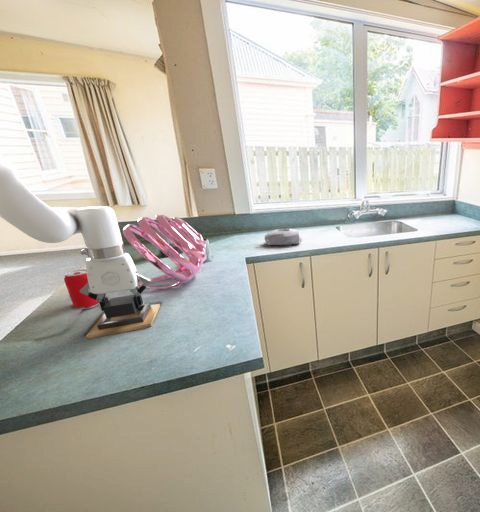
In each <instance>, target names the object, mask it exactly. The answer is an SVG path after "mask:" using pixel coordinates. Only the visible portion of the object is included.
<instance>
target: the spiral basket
mask: <svg viewBox="0 0 480 512" xmlns="http://www.w3.org/2000/svg"><path fill="white" fill-rule="evenodd" d="M155 219H156V220H154V219H153V218H151V217H149V216H141V217H140V218H138V219H137V224H138V225H136V224H133V223H129V224H127V225H125V226H124V227H123V229H122V234H123V236H124V237H125V239H126V240H127V242H128V243H129V244H130V245H131V246H132V248H134V250H136V252H138V253H139V254H140V255H141V256H142V257H143V258H144V259H145V260H146V261H147V262H149V263H150V264H151V265H153V266H154V267H155V268H156V269H158V270H159V271H160V272H162V273H163V274H165V275H163V276H159V277H154V278H149V279H150V280H151V282H150V283H155V282H160V281H161V282H162V281H167V280H169V279H173V280H175V281H177V282H176V283H175V284H171V285H167V286H150V285H148V286H147V287H146V288H145V289H149V290H154V291H155V290H157V291H158V290H159V291H161V290H162V291H163V290H169V289H175V288H177V287H180V286H182V285H184V284H187V283H190V282H191V281H192V280H193V279H194V277H195V276H196V275H198V274H199V273H201V271H202V269H203V264H204V263H205V262H204V261H205V260H206V257H207V254H206V252H205V247H206V243H205V241H204V240H203V239H204V238H203V236H202V234H201V233H200V232H197V231H196V230H195V229H194V228H193V227H192V226H191V225H189V224H188V223H187V221H185V220H184V219H182V218H180V217H177V216H173V219H171V218H170V217H168V216H167V215H164V214H155ZM154 228H155V229H156V230H158V231H159V232H160V233H162V234H163V235H164V236H166V237H167V238H168V239H169V240H170V241H172V242H173V243H174V244H175V245H176V246H177V247H178V248H179V249H180V250H181V251H182V253H183V254H184V255H186V257H187V258H188V259H187V258H185V257H184V256H183V255H181V254H179V253H178V252H176V251H175V250H174V249H173V248H172V247H171V246H170V245H168V244H167V243H166V242H165V241H164V240H163V239H162V238H161V237H160V236H159V235H158V234H157V233H156V232H155V229H154ZM174 228H175V229H176V230H177V231H176V230H175V229H174ZM134 233H135V234H136V235H138V236H139V237H142V238H143V239H145V240H146V241H148V243H150V244H152V245H153V246H154V247H156V248H157V249H158V250H159V251H160V250H161V251H162V252H163V253H164V254H165V255H166V256H168V258H169V260H170V261H172V262H173V264H175V266H176V267H177V269H176V270H175V269H172V268H171V267H170V266H169V265H167V264H166V263H164V262H163V261H162V260H161V259H159V258H158V257H157V256H156V255H155V254H153V253H152V252H151V251H150V250H149V249H148V248H147V247H146V246H145V245H144V244H143V243H142V242H141V240H139V239H138V238H137V237H136V235H135V234H134ZM183 236H184V237H185V238H186V239H187V240H188V241H189V242H188V241H187V240H185V239H184V238H183ZM198 243H199V244H200V245H199V244H198ZM142 285H143V283H142V282H139V283H138V285H137V286H138V287H141V286H142Z"/></svg>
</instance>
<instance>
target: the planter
mask: <svg viewBox="0 0 480 512" xmlns="http://www.w3.org/2000/svg"><path fill="white" fill-rule="evenodd" d="M203 240H204V241H205V243H206V247H205V252H206V254H207V257H206V260H205V261H204V262H203V263H208V262H207V261H209V262H212V260H213V259H212V253H211V248H210V242H209V239H208V238H203ZM198 244H199V243H198ZM199 245H200V244H199Z"/></svg>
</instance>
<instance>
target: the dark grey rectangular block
mask: <svg viewBox="0 0 480 512" xmlns="http://www.w3.org/2000/svg"><path fill="white" fill-rule="evenodd" d="M133 297H134V294H130V295H125V296H117V297H111V298H110V299H109V301H108V302H107V304H106V305H105V306H104V307H103V309H104V311H103V313H104V312H105V315H106V318H113V317H118V316H124V315H130V314H135V313H136V312H137V310H138V309H136V306H135V302H134V300H133Z"/></svg>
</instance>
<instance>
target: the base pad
mask: <svg viewBox="0 0 480 512" xmlns="http://www.w3.org/2000/svg"><path fill="white" fill-rule="evenodd" d="M160 308H161V303H155V304H150V303H143V304H142V305H141V307H140V308H139V309H138V310H137V312H136V313H135V314H130V315H124V316H118V317H113V318H106V315H105V313H104V312H103V314H102V315H101V317H99V319H98V321H96V323H95V324H94V325H93V327H92V328H91V329H90V331H89V332H88V333H87V334H86V338H87V339H88V340H89V339H95V338H100V337H104V336H110V335H114V334H120V333H126V332H130V331H131V332H132V331H134V330H142V329H145V328H152V326H153V324H154V322H155V319H156V317H157V316H158V313H159V311H160Z"/></svg>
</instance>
